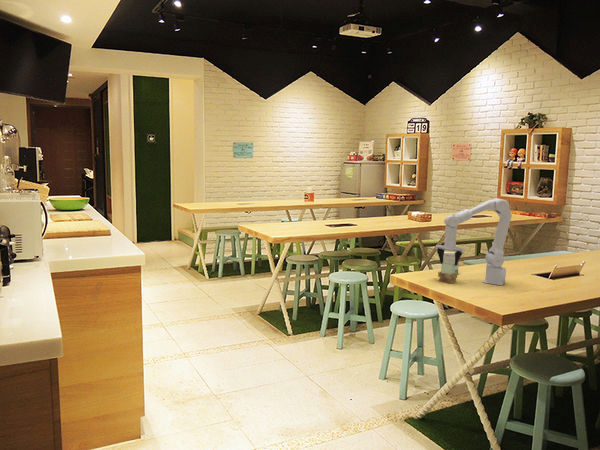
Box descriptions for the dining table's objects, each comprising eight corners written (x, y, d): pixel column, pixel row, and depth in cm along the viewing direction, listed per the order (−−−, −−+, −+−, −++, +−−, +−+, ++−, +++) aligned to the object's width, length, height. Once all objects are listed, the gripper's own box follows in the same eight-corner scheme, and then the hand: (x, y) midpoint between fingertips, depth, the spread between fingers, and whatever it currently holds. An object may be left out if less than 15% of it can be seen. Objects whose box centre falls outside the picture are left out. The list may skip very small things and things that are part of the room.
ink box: (442, 273, 283) (443, 253, 281) (440, 271, 288) (442, 251, 286) (458, 274, 282) (459, 253, 280) (456, 272, 287) (457, 252, 286)
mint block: (454, 273, 266) (455, 263, 265) (451, 274, 262) (451, 265, 261) (445, 271, 269) (446, 262, 268) (441, 273, 265) (442, 263, 264)
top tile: (457, 277, 266) (457, 273, 266) (449, 279, 262) (450, 275, 261) (445, 275, 271) (445, 270, 271) (438, 276, 267) (438, 272, 266)
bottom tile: (455, 281, 268) (455, 277, 268) (452, 284, 262) (453, 279, 262) (442, 279, 271) (442, 275, 271) (439, 282, 265) (439, 278, 265)
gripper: (434, 237, 264) (432, 263, 266) (461, 241, 256) (459, 267, 258) (439, 236, 270) (437, 261, 272) (466, 239, 261) (464, 265, 263)
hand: (448, 264), depth 265 cm, fingers open, 7 cm apart
